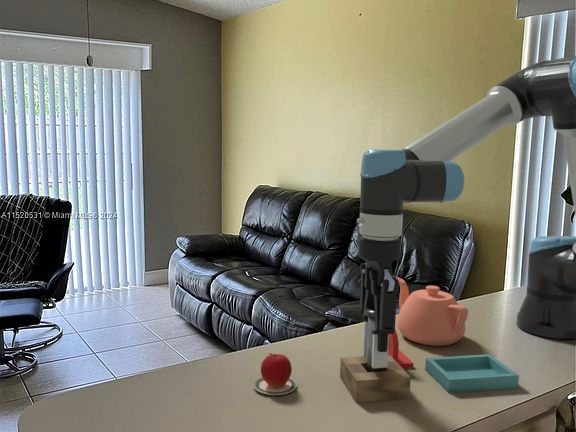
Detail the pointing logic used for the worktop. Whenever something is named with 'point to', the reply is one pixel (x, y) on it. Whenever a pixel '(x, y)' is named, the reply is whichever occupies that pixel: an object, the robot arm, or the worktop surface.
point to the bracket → (398, 352)
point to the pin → (370, 340)
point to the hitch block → (374, 380)
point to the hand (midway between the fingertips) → (374, 360)
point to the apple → (275, 376)
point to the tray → (471, 373)
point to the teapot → (430, 316)
